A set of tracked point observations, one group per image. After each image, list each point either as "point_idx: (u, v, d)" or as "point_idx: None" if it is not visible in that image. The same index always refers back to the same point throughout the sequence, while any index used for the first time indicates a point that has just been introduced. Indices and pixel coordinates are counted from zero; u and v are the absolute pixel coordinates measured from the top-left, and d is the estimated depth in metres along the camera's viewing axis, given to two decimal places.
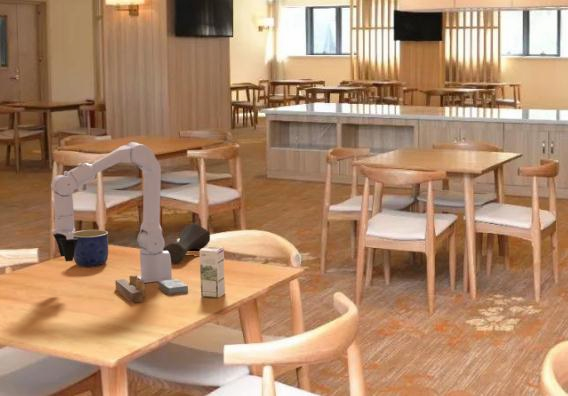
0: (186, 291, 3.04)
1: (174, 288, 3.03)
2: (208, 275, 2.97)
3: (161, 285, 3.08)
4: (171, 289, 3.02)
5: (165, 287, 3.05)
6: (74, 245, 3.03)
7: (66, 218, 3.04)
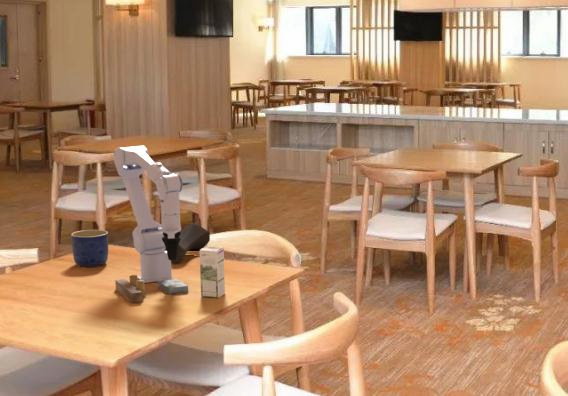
0: (186, 291, 3.04)
1: (174, 288, 3.03)
2: (208, 275, 2.97)
3: (161, 285, 3.08)
4: (171, 289, 3.02)
5: (165, 287, 3.05)
6: (176, 244, 3.03)
7: (170, 217, 3.04)
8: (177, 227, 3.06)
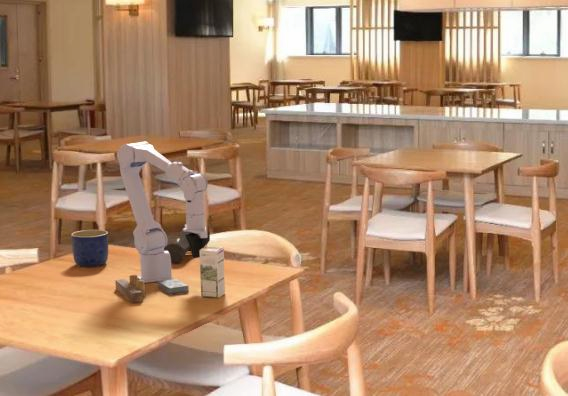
0: (187, 291, 3.05)
1: (175, 288, 3.03)
2: (208, 275, 2.97)
3: (161, 285, 3.08)
4: (172, 289, 3.02)
5: (165, 287, 3.05)
6: (203, 242, 3.08)
7: (198, 217, 3.05)
8: (204, 226, 3.07)
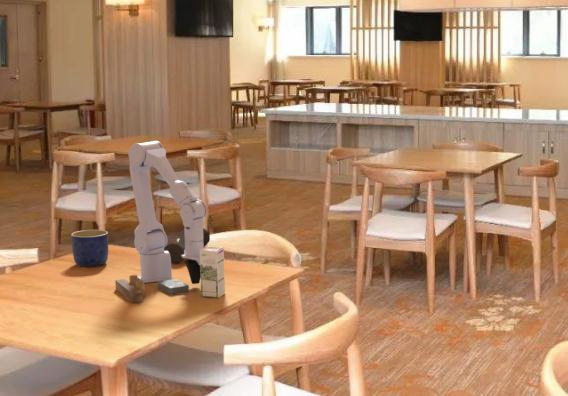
0: (187, 291, 3.05)
1: (175, 288, 3.03)
2: (208, 275, 2.97)
3: (161, 285, 3.08)
4: (172, 289, 3.02)
5: (166, 287, 3.05)
6: None
7: (197, 244, 3.06)
8: None
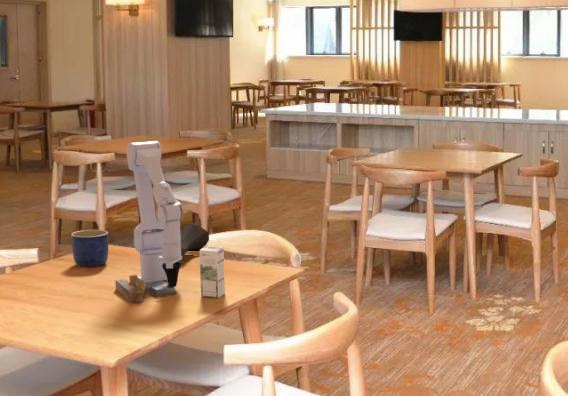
0: (173, 292, 3.03)
1: (161, 290, 3.01)
2: (208, 275, 2.97)
3: (147, 287, 3.06)
4: (158, 291, 3.00)
5: (152, 289, 3.03)
6: (176, 271, 3.05)
7: (170, 247, 3.03)
8: (177, 256, 3.04)
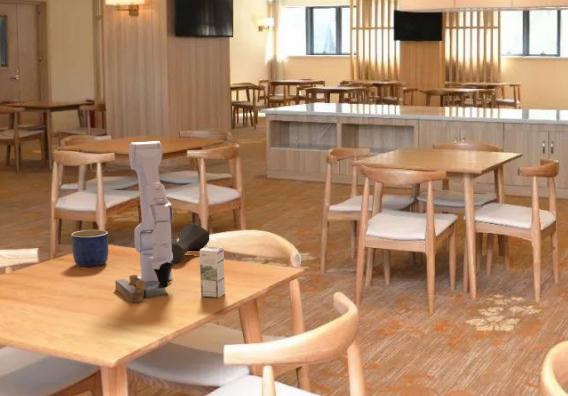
0: (163, 293, 3.02)
1: (151, 290, 3.00)
2: (208, 275, 2.97)
3: None
4: (148, 291, 2.99)
5: None
6: (166, 272, 3.04)
7: (159, 247, 3.01)
8: (166, 257, 3.02)
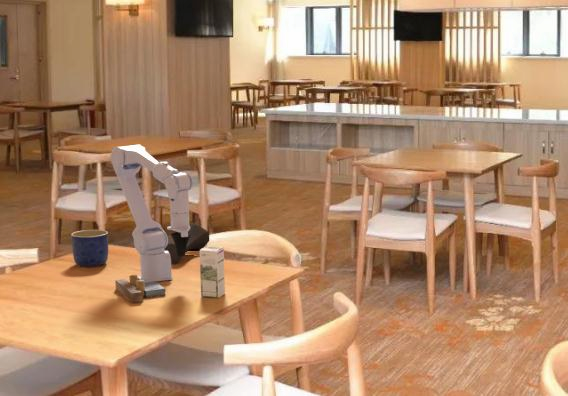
0: (163, 294, 3.02)
1: (151, 291, 3.00)
2: (208, 275, 2.97)
3: None
4: (148, 292, 2.99)
5: None
6: (186, 240, 3.08)
7: (181, 216, 3.05)
8: (187, 225, 3.07)
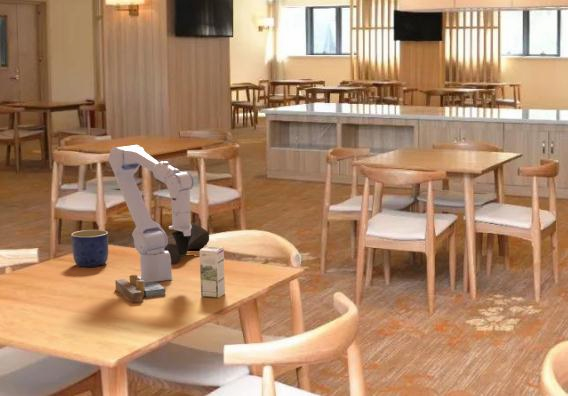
0: (163, 294, 3.02)
1: (151, 291, 3.00)
2: (208, 275, 2.97)
3: None
4: (148, 292, 2.99)
5: None
6: (188, 240, 3.09)
7: (183, 215, 3.06)
8: (189, 225, 3.08)
